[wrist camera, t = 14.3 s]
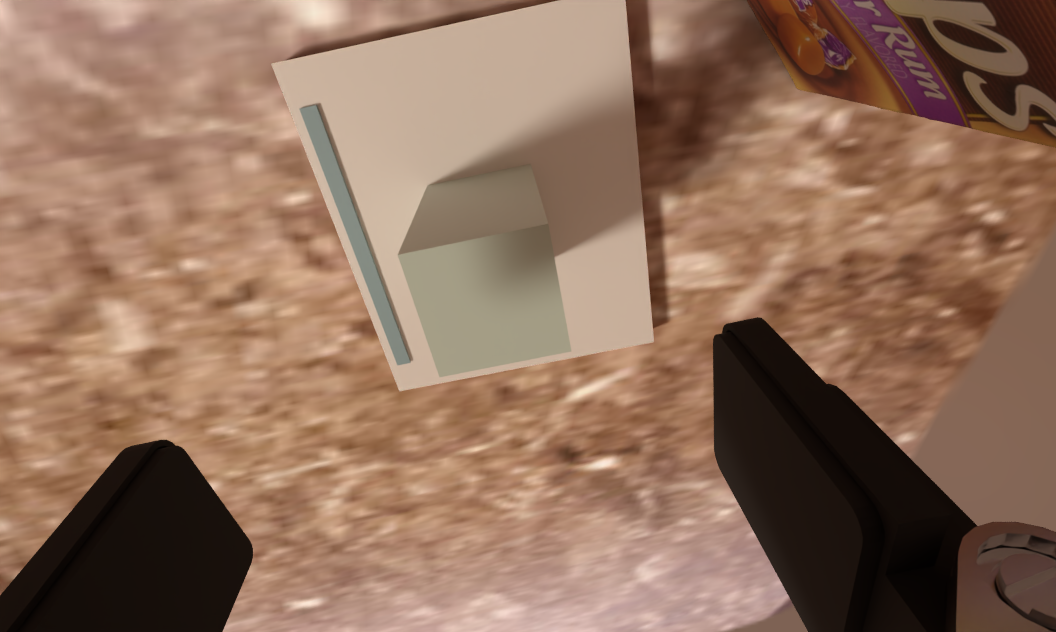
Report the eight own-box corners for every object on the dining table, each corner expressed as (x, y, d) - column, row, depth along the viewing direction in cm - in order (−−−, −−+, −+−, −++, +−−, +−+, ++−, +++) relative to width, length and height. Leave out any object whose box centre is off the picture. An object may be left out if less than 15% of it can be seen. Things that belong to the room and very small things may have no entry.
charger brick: (427, 185, 20) (397, 254, 13) (530, 163, 19) (548, 223, 13) (454, 279, 21) (439, 378, 15) (549, 260, 21) (571, 352, 15)
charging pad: (281, 62, 18) (269, 63, 17) (617, -12, 18) (625, -15, 17) (402, 378, 25) (399, 393, 24) (648, 330, 24) (654, 343, 23)
